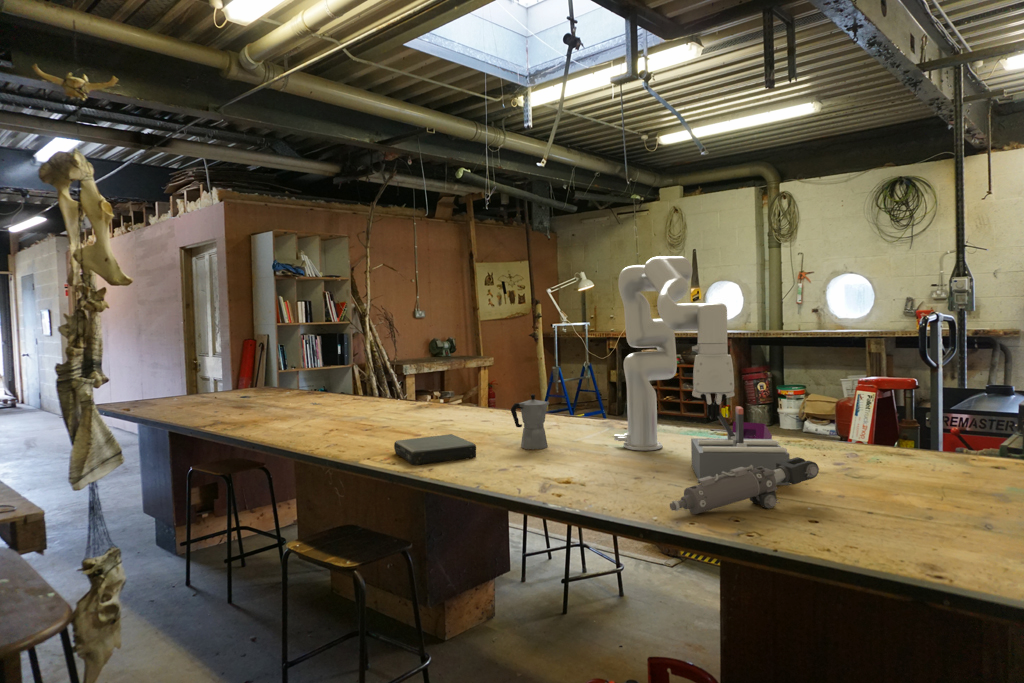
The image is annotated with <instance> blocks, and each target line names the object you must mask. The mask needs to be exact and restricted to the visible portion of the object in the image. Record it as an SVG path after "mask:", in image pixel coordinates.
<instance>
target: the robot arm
mask: <svg viewBox="0 0 1024 683" xmlns="http://www.w3.org/2000/svg"><path fill="white" fill-rule="evenodd" d="M692 276H693V266H692V263H691V262H690V260H689V259H688V258H686V257H685V256H681V255H679V256H677V255H676V256H675V255H672V256H669V255H668V256H666V255H663V256H661V255H659V256H654V257H651V258H650V259H648V260H647V261H646V262H645V264H642V265H641V264H636V265H629V266H626V267H624V268H623V269H622V270H621V271H620V273H619V276H618V283H617V284H618V291H619V295H620V298H621V300H622V304H623V305H622V306H623V309H624V325H625V326H624V327H625V337H626V343H628V345H629V346H630V348H635V349H636V348H637V349H639V348H643V349H644V348H656V351H637V352H632V353H629V354H628V355H627V356H625V358H624V360H623V371H624V376H625V377H624V378H625V383H626V400H627V401H626V402H627V403H626V404H627V408H626V410H627V431H626V433H623V434H614V441H617V442H623V441H624V442H623V447H624V448H625V449H628V450H632V451H645V452H646V451H647V452H648V451H655V450H656V451H657V450H659V449H662V448H663V443H662V442H661V441H658V412H657V411H658V410H657V408H658V406H657V404H658V403H657V401H658V400H657V391H656V390H655V388H654V387H653V386H652V384H651V382H652V381H662V380H670V379H673V378H674V377H675V375H676V374H677V368H678V363H677V362H678V360H677V347H676V335H675V332H684V331H685V332H688V331H697V344H696V345H692V346H691V351H692V352H696V353H697V354H696V355H694V362H693V369H692V370H693V373H692V387H693V389H692V392H691V393H692V394H691V395H692V397H694V398H697V399H702V400H703V401H704V402H705V404H706V408H707V409H706V412H707V414H706V415H707V417H709V419H710V420H718V417H717V416H720V412H721V410H720V409H721V407H720V405H721V403H722V402H723V401H724V400H726V399H728V398H732V397H735V395H736V394H735V377H734V376H735V375H734V365H733V359H732V355H731V354H728V308H727V307H728V306H727V305H726V304H724V303H722V302H721V303H720V302H718V303H717V302H715V303H714V302H712V303H711V302H710V303H709V302H708V303H707V302H700V303H697V302H694V303H691V302H686V303H685V302H683V303H677V302H678V301H680V300H682V299H683V298H684V297H685V296H686V295H687V293H688V289H689V281H690V280H691V279H692ZM642 292H656V293H657V292H658V297H657V302H656V308H657V312H658V316H659V318H652V315H651V305H650V302H649V301H648V299H647V298H646V296H644V294H643V293H642ZM650 381H651V382H650ZM711 394H715V398H714V400H713V401H712V396H711Z"/></svg>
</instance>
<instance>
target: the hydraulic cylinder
mask: <svg viewBox="0 0 1024 683" xmlns="http://www.w3.org/2000/svg"><path fill="white" fill-rule="evenodd" d="M750 469H751V470H750ZM819 471H820V468H819V465H818V464H817V462H814V461H812V460H806V459H804V458H803V457H799V456H797V457H793V458H790V459H789V460H786V461H781V462H777V463H776V470H770V469H768V468H765V469H764V467H763V466H760V467H757V468H754V467H753V466H752V465H750V467H746V468H744V467H739V468H736V469H732V470H730V472H729V473H726V472H722V475H718V474H716V476H715V477H711V476H708V477H704V478H701V479H698V478H697V480H696V481H697V482H696V483H697V484H695V485H693V486H689V487H686V488H684V490H683V496H681V497H680V500H673V501H671V502H670V503H669V508H670V509H671V511H672V512H673V511H675V512H678V511H680V509H684V510H689V512H690V513H691V514H693V515H698V514H701V513H705V512H708V511H711V510H715V509H717V508H721V507H724V506H728V505H732V504H735V503H738V502H741V501H744V500H748V499H749V501H750V502H752V503H754V504H756V505H759V504H760V506H761V507H762V508H765V509H766V510H767V509H769V510H770V509H773V508H774V507H775V506H776V505H777V504H781V502H779V501H778V500H779V499H778V498H777V491H778V487H777V485H776V483H778V482H780V481H781V482H782V483H785V482H788V483H790V484H791V485H797V484H799V483H800V484H801V483H802V482H805V481H808V480H813V479H814V478H816V477H818V474H819Z"/></svg>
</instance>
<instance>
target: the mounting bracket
mask: <svg viewBox="0 0 1024 683" xmlns="http://www.w3.org/2000/svg"><path fill="white" fill-rule="evenodd" d="M731 430H732V431H733V433H736V421H732V429H731ZM743 430H744V439H772V440H773V435H772V433H771V432H770V430H769V428H768V426H767V425H766V423H761V422H745V421H743Z"/></svg>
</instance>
